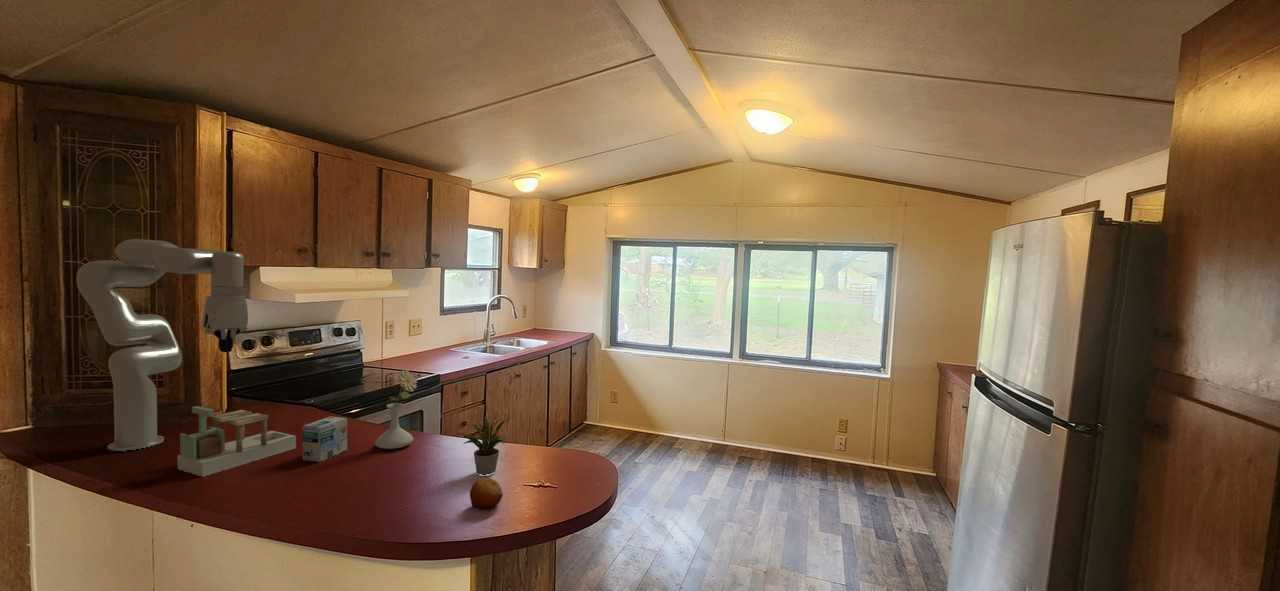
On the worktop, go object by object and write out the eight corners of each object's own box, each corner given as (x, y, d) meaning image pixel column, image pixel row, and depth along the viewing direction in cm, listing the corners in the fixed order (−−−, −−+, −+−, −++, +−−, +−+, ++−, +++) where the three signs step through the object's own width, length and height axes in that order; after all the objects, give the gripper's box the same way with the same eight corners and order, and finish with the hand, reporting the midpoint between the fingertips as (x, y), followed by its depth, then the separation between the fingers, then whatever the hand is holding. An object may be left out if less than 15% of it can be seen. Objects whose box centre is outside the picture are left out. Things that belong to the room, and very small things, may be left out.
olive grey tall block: (178, 455, 137) (178, 409, 137) (210, 447, 144) (209, 403, 144) (195, 460, 134) (195, 413, 134) (226, 451, 141) (226, 407, 141)
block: (189, 456, 139) (189, 438, 138) (210, 450, 143) (210, 433, 143) (200, 459, 137) (200, 441, 136) (221, 453, 141) (220, 436, 141)
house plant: (493, 458, 154) (494, 407, 153) (523, 469, 146) (524, 415, 145) (452, 472, 142) (453, 417, 141) (482, 485, 134) (483, 426, 133)
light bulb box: (320, 462, 147) (320, 427, 146) (301, 460, 148) (301, 425, 147) (348, 450, 157) (348, 417, 157) (330, 448, 158) (330, 415, 158)
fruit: (466, 494, 125) (483, 468, 125) (493, 509, 126) (509, 483, 126) (457, 509, 117) (475, 481, 117) (485, 525, 118) (503, 497, 118)
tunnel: (211, 445, 147) (211, 416, 146) (242, 438, 154) (241, 409, 154) (238, 452, 142) (238, 422, 142) (268, 444, 149) (268, 415, 149)
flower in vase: (388, 454, 154) (389, 376, 153) (367, 447, 160) (367, 372, 159) (425, 443, 166) (425, 370, 165) (404, 436, 171) (404, 366, 170)
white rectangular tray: (177, 469, 139) (177, 455, 139) (271, 442, 162) (271, 430, 162) (202, 477, 134) (202, 462, 134) (295, 448, 158) (295, 435, 157)
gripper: (247, 290, 158) (246, 347, 158) (190, 291, 144) (188, 353, 145) (261, 292, 155) (260, 350, 155) (204, 293, 141) (202, 356, 142)
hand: (225, 351), depth 150 cm, fingers closed
